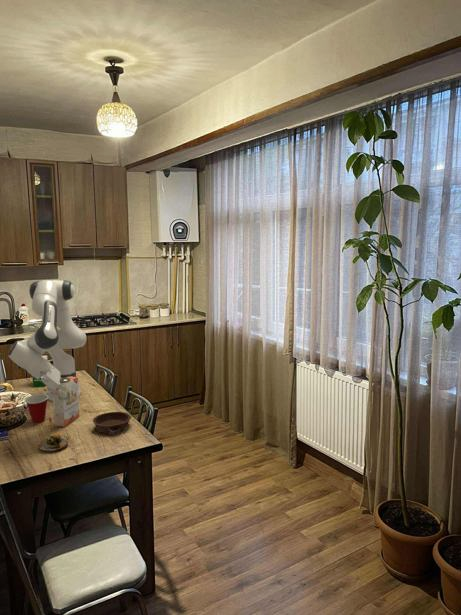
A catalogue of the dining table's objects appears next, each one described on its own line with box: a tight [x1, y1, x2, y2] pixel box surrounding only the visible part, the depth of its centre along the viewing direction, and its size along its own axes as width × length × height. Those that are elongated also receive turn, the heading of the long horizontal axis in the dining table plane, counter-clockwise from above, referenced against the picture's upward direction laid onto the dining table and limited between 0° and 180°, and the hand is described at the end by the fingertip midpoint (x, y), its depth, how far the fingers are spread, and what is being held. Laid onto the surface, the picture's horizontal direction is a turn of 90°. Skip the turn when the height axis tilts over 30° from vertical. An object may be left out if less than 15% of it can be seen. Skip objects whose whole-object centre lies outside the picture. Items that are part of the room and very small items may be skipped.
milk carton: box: [31, 355, 48, 388], centre depth 283 cm, size 9×9×20 cm
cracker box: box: [52, 376, 80, 428], centre depth 224 cm, size 14×6×21 cm, turn 168°
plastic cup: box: [24, 393, 49, 424], centre depth 226 cm, size 11×11×12 cm
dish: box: [92, 411, 132, 435], centre depth 217 cm, size 18×22×5 cm
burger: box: [38, 432, 69, 452], centre depth 197 cm, size 12×12×8 cm
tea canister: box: [58, 378, 71, 400], centre depth 210 cm, size 6×6×9 cm
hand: (66, 387), depth 210 cm, fingers closed on tea canister, 5 cm apart
